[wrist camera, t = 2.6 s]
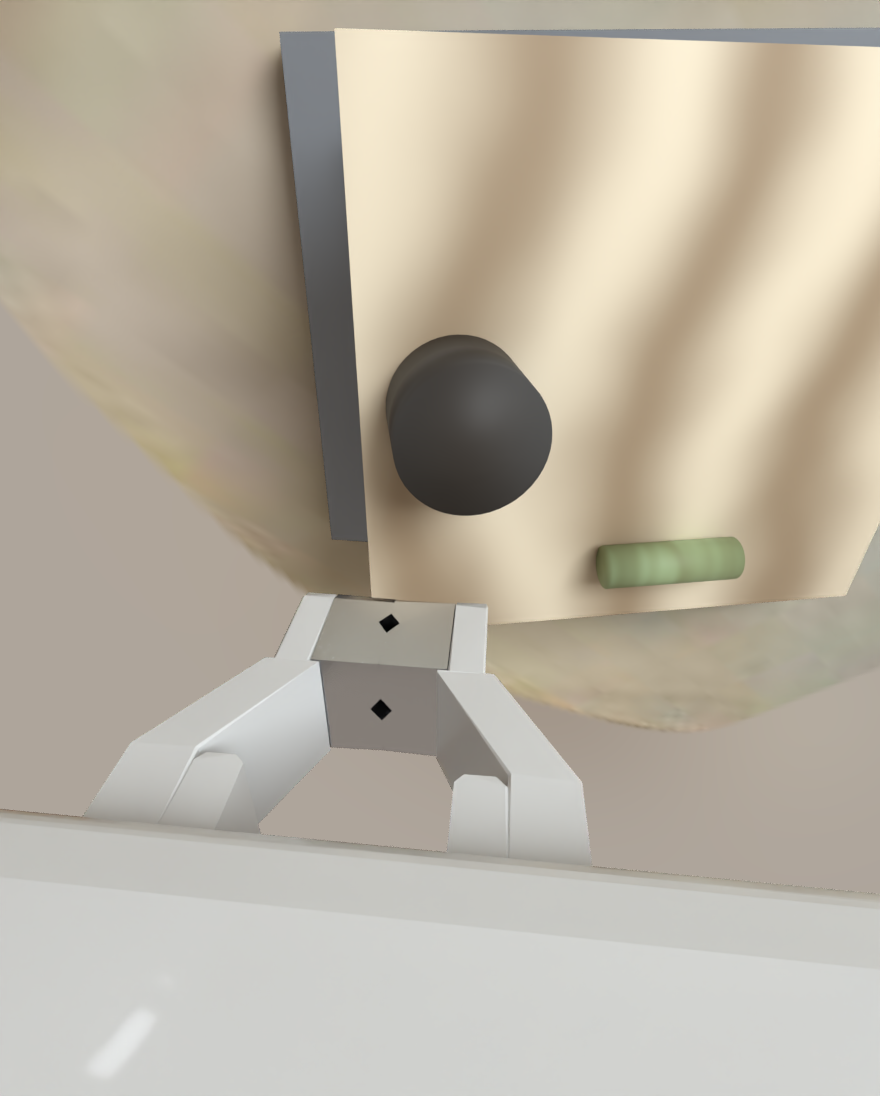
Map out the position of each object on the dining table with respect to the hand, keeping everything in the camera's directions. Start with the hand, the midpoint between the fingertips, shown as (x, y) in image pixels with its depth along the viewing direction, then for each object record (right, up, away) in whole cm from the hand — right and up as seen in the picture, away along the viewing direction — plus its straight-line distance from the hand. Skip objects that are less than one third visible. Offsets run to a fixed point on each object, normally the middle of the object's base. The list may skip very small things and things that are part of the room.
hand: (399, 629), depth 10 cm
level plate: (+8, +7, +11) cm, 15 cm away
